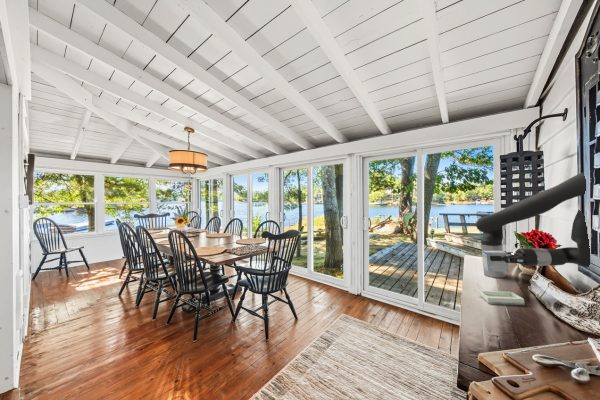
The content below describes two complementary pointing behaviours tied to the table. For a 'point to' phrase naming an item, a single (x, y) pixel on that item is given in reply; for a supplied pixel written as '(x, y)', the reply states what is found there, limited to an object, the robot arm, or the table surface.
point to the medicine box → (494, 265)
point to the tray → (501, 297)
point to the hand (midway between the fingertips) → (487, 257)
